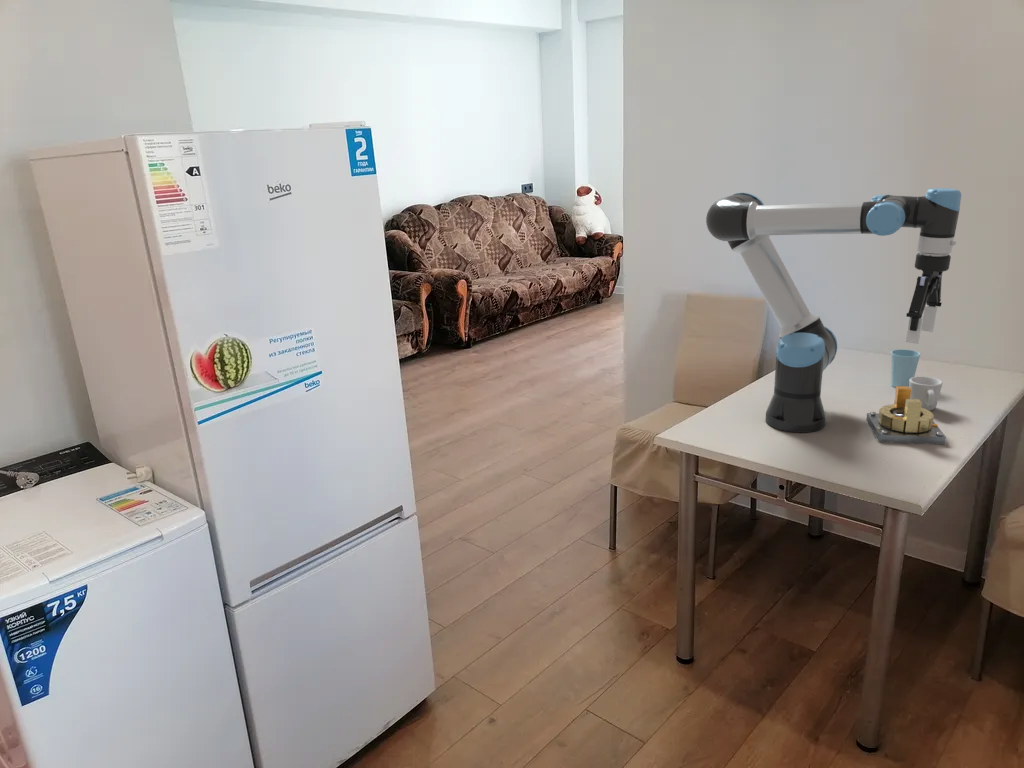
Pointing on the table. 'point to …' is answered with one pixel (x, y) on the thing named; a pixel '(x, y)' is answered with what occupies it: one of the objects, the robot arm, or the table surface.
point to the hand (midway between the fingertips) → (919, 336)
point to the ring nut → (906, 413)
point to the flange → (904, 437)
